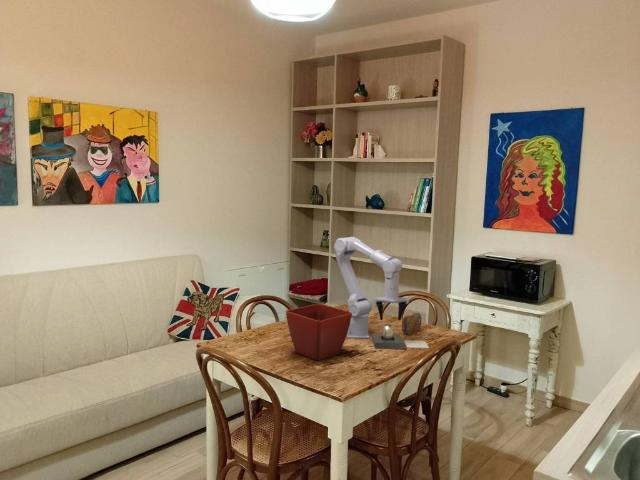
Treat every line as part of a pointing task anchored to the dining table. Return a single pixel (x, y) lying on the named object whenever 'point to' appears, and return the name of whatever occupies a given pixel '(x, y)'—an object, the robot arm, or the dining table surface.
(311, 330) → the plant pot
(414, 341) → the mat
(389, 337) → the silver metal cylinder
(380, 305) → the robot arm
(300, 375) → the dining table surface
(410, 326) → the tin
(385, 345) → the housing
